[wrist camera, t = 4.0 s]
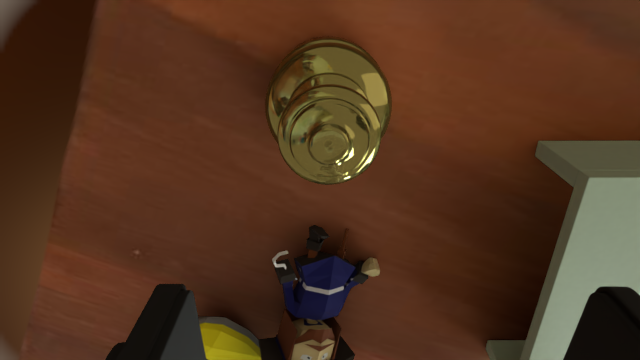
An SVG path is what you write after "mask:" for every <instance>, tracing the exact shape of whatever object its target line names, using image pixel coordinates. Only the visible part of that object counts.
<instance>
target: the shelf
mask: <svg viewBox="0 0 640 360" xmlns="http://www.w3.org/2000/svg"><path fill="white" fill-rule="evenodd" d="M535 157H536V158H538V159H539V160H540V161H541V162H543V163H544V164H545V165H546V166H548V167H549V168H550V169H551V170H553V171H554V172H555V173H556V174H558V175H559V176H560V177H561V178H563V179H564V180H565V181H566V182H567V183H569V184H570V185H571V186H572V187H574V189H573V192H572V195H571V199H570V202H569V205H568V208H567V211H566V215H565V218H564V221H563V224H562V227H561V230H560V234H559V237H558V240H557V243H556V246H555V249H554V253H553V256H552V259H551V262H550V265H549V269H548V272H547V275H546V278H545V281H544V284H543V288H542V291H541V294H540V297H539V300H538V304H537V307H536V310H535V313H534V316H533V319H532V323H531V326H530V329H529V332H528V335H527V338H526V340H488V341H487V345H486V351H487V353H488V355H489V358H490V360H563V359H564V356H565V354H566V351H567V349H568V347H569V344H570V342H571V339H572V337H573V334H574V332H575V330H576V327H577V325H578V322H579V320H580V317H581V315H582V312H583V310H584V308H585V305H586V303H587V300H588V298H589V296H590V294H592V293H595V291H596V290H597V288H599V287H603V286H617V287H630V288H632V289H633V290H634V291H636V292H637V293H638V294H639V295H640V141H538V145H537V149H536V153H535Z"/></svg>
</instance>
